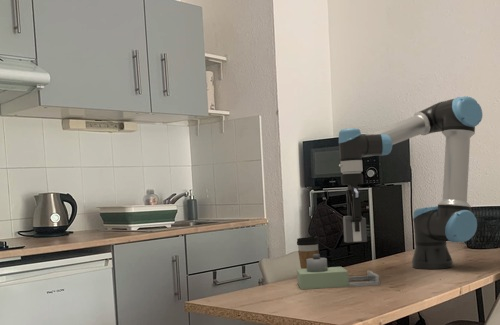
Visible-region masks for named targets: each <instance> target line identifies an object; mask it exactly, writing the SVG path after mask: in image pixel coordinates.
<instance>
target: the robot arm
mask: <svg viewBox="0 0 500 325" xmlns="http://www.w3.org/2000/svg"><path fill="white" fill-rule="evenodd" d="M482 120H483V110H482V107H481V105H480V103H479V102H478V101H477V100H476V99H475V98H473V97H472V96H468V95H467V96H466V95H465V96H457V97H455V98H452V99H448V100H444V101H439V102H437V103H434V104H432V105H431V106H429V107H426V108H425V109H422V110H420V111H417V112H414V114H413V116H411V117H408V118H406V119H402V120H400V121H397V122H395V123H392V124H390V125H385V127H381V128H378V129H375V130H373V131H370V132H368V133H364V134H361V130H360V128H355V127H354V128H353V127H352V128H344V129H340V131H339V132H338V149H339V161H340V163H339V164H338V167H339V168H340V173H342V174H341V175H340V182H341V185H342V186H347V189H346V191H345V196H346V208H347V209H346V211H347V216H352V217H353V220H351V222H352V228H353V242H352V243H358V242H357V241H362V239H361V223H360V222H361V220H362V217H363V215H362V203H361V202H362V201H361V196H362V195H361V190H360V189H359V186H358V185H363V184H364V174H363V173H362V172H363V170H364V169H363V168H364V167H363V158H369V157H374V156H380V157H382V156H388V155H389V154H391V152H392V150H393V145H396V144H398V143H401V142H404V141H407V140H410V139H412V138H414V137H415V138H416V137H417V136H420V135H421V136H427V135H429V134H433V133H434V134H435V133H441V134H442V135H443V136H444V137H445V147H444V148H445V149H444V150H445V151H444V162H443V163H444V166H443V181H442V185H443V186H442V200H441V201H440V202H438V204H437V206H429V207H428V206H427V207H421V208H417V209H414V211H413V212H412V213H413V215H412V216H413V218H412V220H413V231H414V242H415V249H414V251H413V252H414V253H413V256H412V260H411V263H412V264H411V265H412V266H411V267H412V268H414V269H421V270H442V269H448V268H449V269H450V268H452V267H454V263H453V262H454V261H453V258H452V256H451V254H450V252H449V248H448V246H447V242H452V243H465V242H468V241H469V240H471V239H472V238H473V237H474V236H475V234H476V232H477V228H478V220H477V217H476V216H475V214H474V213H473V212H472V206H471V205H470V204H469V202H468V190H469V189H468V187H469V184H468V182H469V167H470V166H469V165H470V148H471V147H470V146H471V145H470V144H471V138H472V137H473V136H474V135H475V134H476V127H477V126H478V125H479V124H480V123H481V121H482Z"/></svg>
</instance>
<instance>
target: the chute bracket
mask: <svg viewBox="0 0 500 325" xmlns="http://www.w3.org/2000/svg"><path fill="white" fill-rule="evenodd" d="M366 271H367V272H366V274H367V275H357V276H355V275H354V276H348V278H349V287H351V288H352V287H353V288H356V287H369V286H380V284H381V283H380V282H381V281H380V275H379V274H377V273H375V272H373V271H372V270H366ZM367 279H368V280H369V281H368V280H367ZM364 280H365V281H364ZM350 281H353V282H350ZM354 281H355V282H354Z"/></svg>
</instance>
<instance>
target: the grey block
mask: <svg viewBox="0 0 500 325" xmlns="http://www.w3.org/2000/svg"><path fill="white" fill-rule="evenodd" d="M351 220H353V217H352V216H348V215H344V216H343V217H342V222H343V242H344V243H354V242H353V228H352V222H351ZM360 223H361V239H362V241H357V242H356V243H365V242H366V243H367V242H368V236H367V218H366V217H363V216H362V220H361V222H360Z"/></svg>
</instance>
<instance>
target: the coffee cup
mask: <svg viewBox="0 0 500 325" xmlns="http://www.w3.org/2000/svg"><path fill="white" fill-rule="evenodd" d="M319 244H320V241H319V236H309V237H298V238H297V239H296V245H297V249H298V252H297V253H298V259H299V265H300V269H307V261H306V259H309V258H313V254H319Z"/></svg>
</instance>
